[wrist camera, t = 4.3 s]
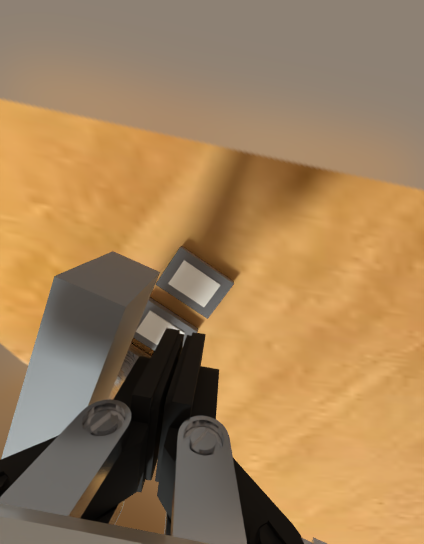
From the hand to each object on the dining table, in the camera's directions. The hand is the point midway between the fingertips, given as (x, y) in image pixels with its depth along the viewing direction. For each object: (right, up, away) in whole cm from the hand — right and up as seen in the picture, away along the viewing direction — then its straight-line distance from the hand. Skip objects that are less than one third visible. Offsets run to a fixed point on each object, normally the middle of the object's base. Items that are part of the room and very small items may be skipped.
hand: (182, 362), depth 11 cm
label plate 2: (-2, -1, +9) cm, 9 cm away
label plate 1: (0, +3, +8) cm, 8 cm away
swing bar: (-4, -1, +1) cm, 5 cm away
